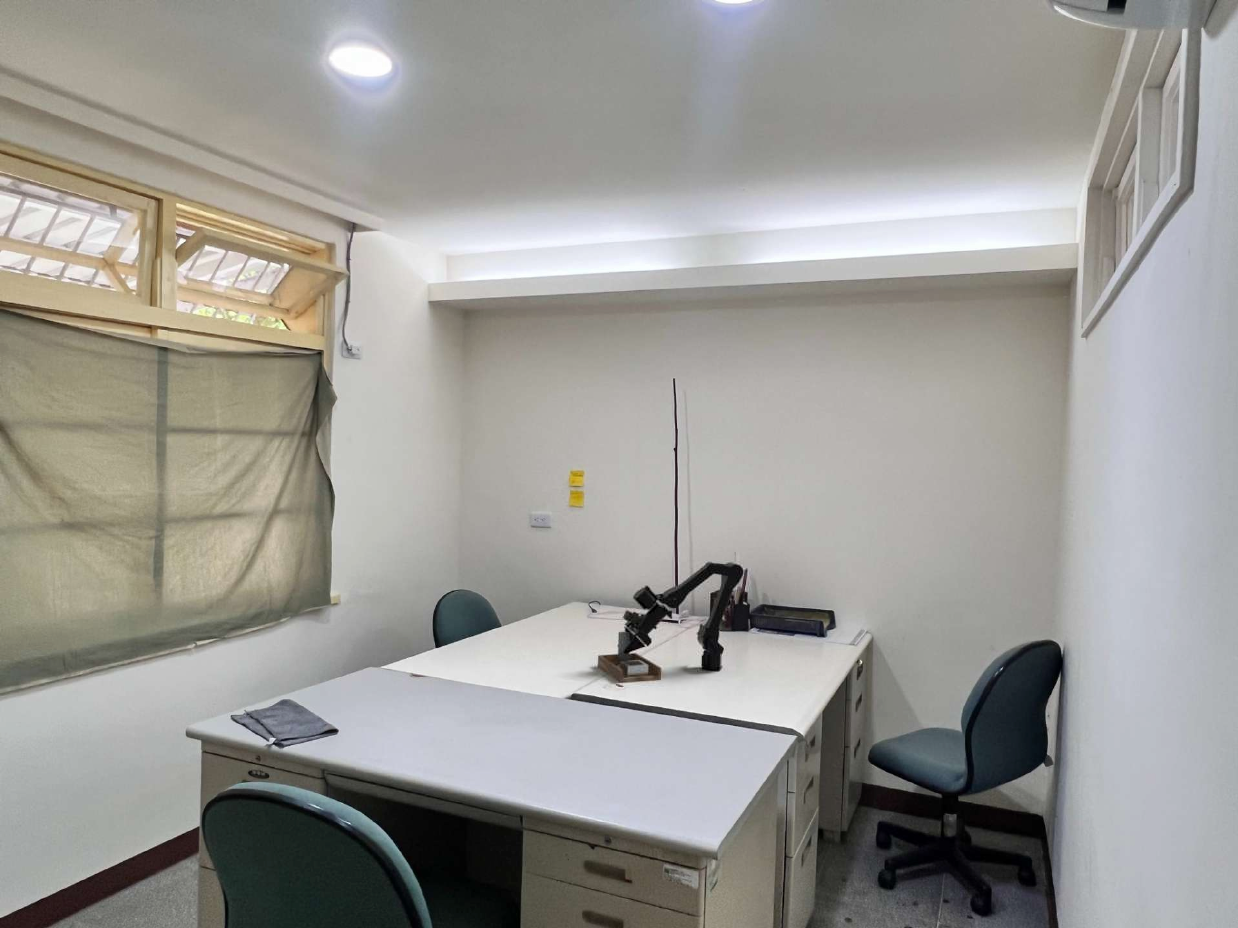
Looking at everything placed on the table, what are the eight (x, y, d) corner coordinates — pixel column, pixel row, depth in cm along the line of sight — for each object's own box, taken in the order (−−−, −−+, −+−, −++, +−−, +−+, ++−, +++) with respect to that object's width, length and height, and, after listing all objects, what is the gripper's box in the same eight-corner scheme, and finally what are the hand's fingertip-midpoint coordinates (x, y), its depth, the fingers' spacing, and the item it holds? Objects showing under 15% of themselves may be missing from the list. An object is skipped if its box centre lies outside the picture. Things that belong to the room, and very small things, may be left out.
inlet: (639, 672, 288) (639, 659, 288) (648, 678, 281) (648, 664, 281) (619, 674, 285) (619, 661, 285) (627, 679, 278) (627, 666, 278)
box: (635, 665, 301) (635, 652, 301) (660, 680, 279) (661, 667, 279) (597, 667, 295) (598, 655, 295) (620, 684, 274) (620, 670, 274)
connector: (630, 668, 293) (631, 632, 293) (627, 671, 289) (627, 634, 289) (619, 667, 294) (620, 631, 294) (616, 670, 291) (617, 633, 291)
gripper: (631, 598, 302) (600, 628, 300) (643, 607, 284) (611, 639, 281) (651, 619, 304) (621, 650, 301) (664, 629, 286) (633, 662, 283)
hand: (621, 650), depth 292 cm, fingers open, 9 cm apart
